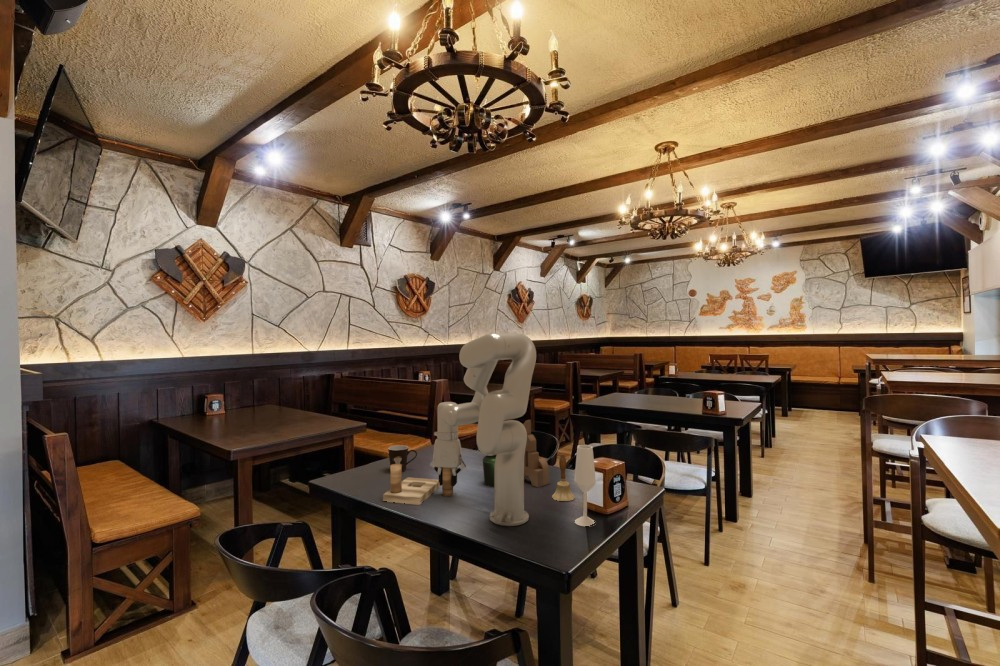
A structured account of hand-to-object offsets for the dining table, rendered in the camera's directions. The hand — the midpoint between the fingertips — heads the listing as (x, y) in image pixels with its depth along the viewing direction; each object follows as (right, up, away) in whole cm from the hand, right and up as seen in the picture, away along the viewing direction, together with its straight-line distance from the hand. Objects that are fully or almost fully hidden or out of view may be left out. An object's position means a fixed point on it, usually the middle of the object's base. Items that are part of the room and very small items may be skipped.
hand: (447, 484), depth 171 cm
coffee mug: (-24, -4, +29) cm, 38 cm away
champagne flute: (+46, -4, -25) cm, 53 cm away
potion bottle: (+16, -4, +12) cm, 21 cm away
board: (-13, -4, +1) cm, 14 cm away
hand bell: (+42, -4, -3) cm, 43 cm away
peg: (0, -4, 0) cm, 4 cm away
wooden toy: (+32, -4, +16) cm, 36 cm away
